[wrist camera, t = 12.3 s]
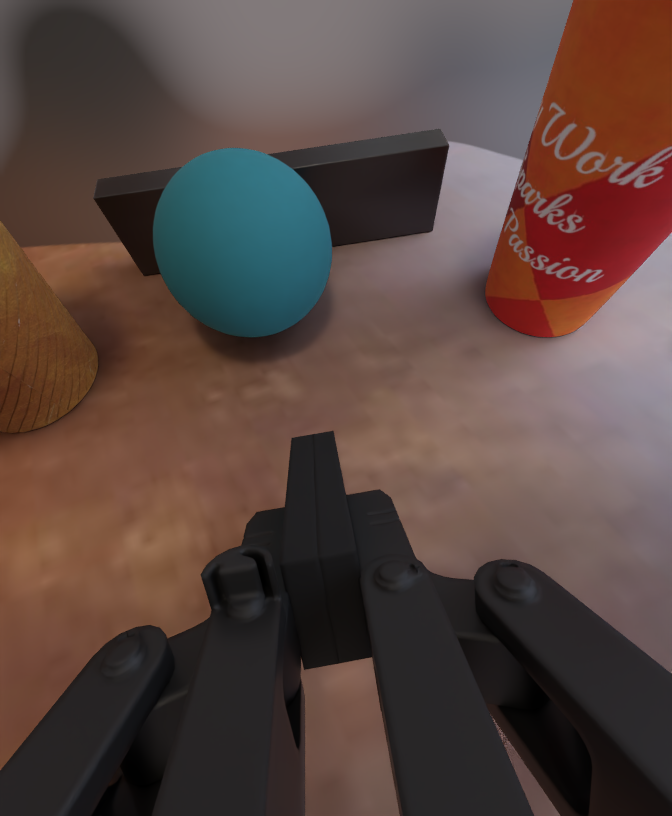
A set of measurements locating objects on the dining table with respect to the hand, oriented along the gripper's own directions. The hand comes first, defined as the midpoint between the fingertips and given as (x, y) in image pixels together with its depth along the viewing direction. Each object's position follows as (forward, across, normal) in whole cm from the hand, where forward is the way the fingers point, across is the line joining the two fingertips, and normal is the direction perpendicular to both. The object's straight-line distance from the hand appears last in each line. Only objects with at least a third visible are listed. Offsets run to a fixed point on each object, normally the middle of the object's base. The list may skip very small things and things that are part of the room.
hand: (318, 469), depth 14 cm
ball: (+7, +2, -8) cm, 11 cm away
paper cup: (+8, -13, -4) cm, 16 cm away
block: (+13, 0, -9) cm, 16 cm away
